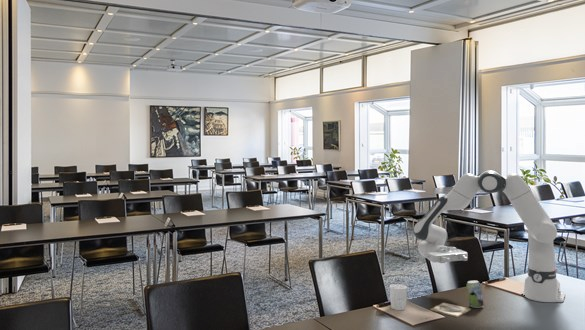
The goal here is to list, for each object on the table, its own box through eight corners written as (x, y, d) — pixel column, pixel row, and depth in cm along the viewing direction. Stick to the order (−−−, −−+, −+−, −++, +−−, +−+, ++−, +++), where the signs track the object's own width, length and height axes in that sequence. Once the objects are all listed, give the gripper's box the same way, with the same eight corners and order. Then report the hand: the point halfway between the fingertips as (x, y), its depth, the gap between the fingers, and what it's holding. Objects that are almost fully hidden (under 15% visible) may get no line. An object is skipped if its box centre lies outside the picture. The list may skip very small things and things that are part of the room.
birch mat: (444, 303, 226) (444, 302, 226) (470, 310, 216) (470, 308, 216) (430, 310, 216) (430, 309, 216) (457, 317, 207) (457, 315, 207)
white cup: (408, 306, 222) (408, 285, 222) (405, 311, 215) (405, 289, 215) (391, 304, 225) (391, 283, 225) (387, 309, 218) (387, 287, 218)
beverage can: (484, 309, 217) (484, 283, 217) (467, 308, 218) (467, 282, 218) (482, 305, 223) (482, 279, 223) (465, 304, 225) (465, 278, 224)
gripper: (423, 249, 241) (439, 254, 228) (457, 246, 248) (475, 251, 235) (422, 261, 242) (439, 267, 228) (456, 258, 248) (475, 264, 235)
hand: (457, 259), depth 232 cm, fingers open, 8 cm apart
